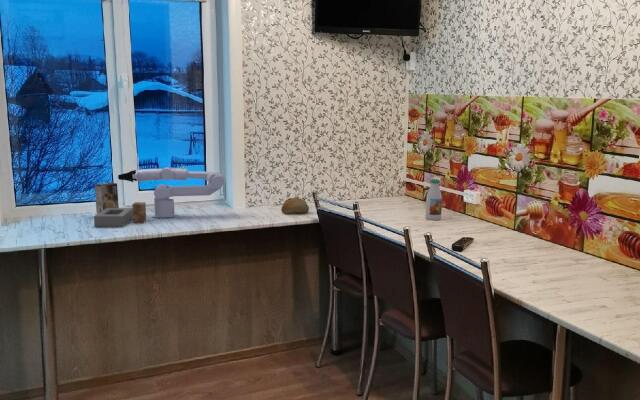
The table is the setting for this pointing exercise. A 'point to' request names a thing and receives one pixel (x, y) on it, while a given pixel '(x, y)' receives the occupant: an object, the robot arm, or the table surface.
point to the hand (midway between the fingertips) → (119, 176)
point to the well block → (113, 217)
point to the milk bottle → (434, 201)
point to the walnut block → (139, 212)
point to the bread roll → (295, 206)
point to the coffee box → (106, 196)
